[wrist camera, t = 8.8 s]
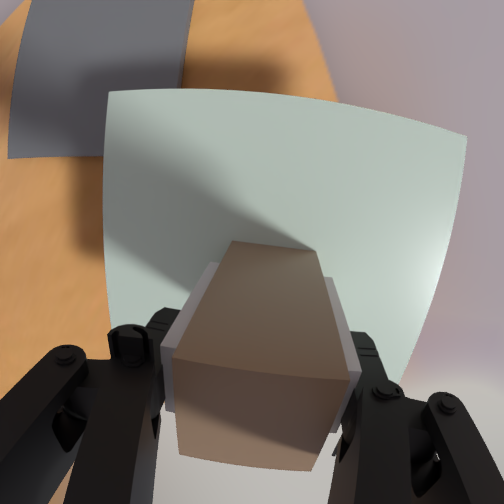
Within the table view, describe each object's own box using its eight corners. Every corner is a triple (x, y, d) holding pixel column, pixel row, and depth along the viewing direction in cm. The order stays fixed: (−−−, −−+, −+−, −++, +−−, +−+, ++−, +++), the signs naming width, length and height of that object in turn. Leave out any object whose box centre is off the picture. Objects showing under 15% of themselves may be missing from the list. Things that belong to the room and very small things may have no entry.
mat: (13, 157, 26) (7, 158, 25) (39, -5, 20) (34, -7, 19) (174, 157, 25) (170, 158, 24) (203, -43, 19) (200, -48, 18)
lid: (124, 374, 20) (60, 480, 11) (116, 93, 14) (-33, 69, 5) (379, 408, 19) (408, 527, 10) (459, 136, 13) (605, 149, 4)
